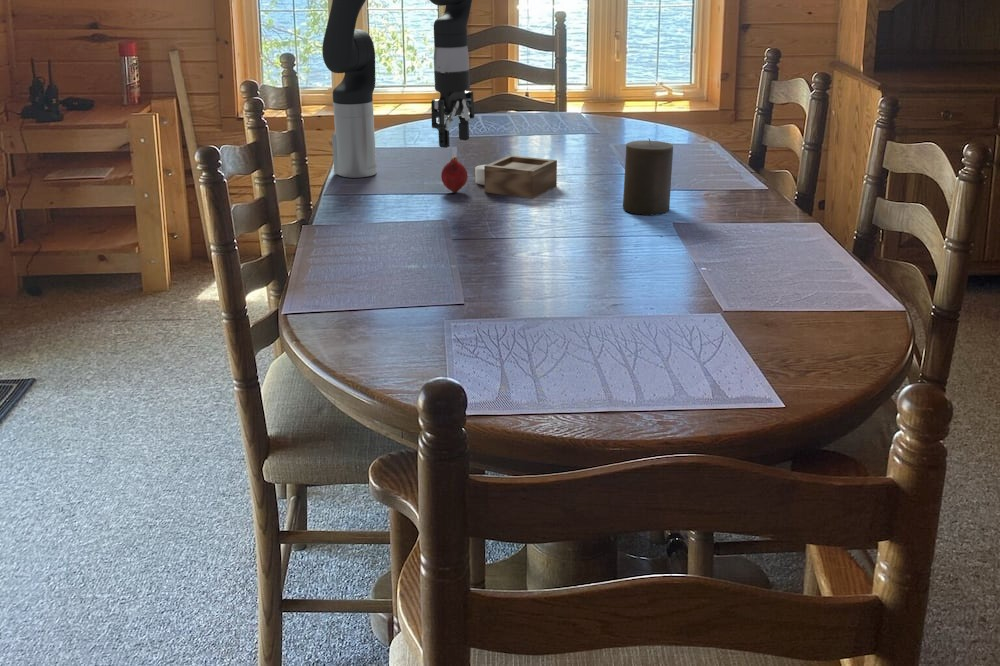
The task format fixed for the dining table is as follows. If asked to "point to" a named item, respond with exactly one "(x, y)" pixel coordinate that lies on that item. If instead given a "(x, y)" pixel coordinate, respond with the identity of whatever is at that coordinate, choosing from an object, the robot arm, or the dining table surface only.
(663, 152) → the pillar candle
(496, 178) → the brown open square tray
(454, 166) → the onion
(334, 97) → the robot arm
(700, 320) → the dining table surface
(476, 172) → the white rounded pebble
